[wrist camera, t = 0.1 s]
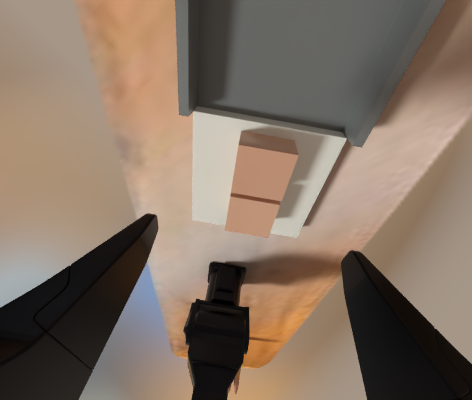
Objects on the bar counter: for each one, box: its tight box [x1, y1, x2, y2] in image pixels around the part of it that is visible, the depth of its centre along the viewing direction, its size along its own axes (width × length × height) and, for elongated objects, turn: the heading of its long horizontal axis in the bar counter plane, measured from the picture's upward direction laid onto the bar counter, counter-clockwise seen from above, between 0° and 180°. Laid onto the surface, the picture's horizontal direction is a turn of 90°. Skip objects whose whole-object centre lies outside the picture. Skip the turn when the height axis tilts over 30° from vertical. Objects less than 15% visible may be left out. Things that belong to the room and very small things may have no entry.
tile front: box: [231, 131, 299, 201], centre depth 20 cm, size 5×5×3 cm
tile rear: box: [225, 193, 280, 238], centre depth 23 cm, size 5×5×3 cm
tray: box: [175, 0, 446, 147], centre depth 15 cm, size 13×16×4 cm
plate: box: [192, 106, 347, 238], centre depth 24 cm, size 14×14×2 cm
